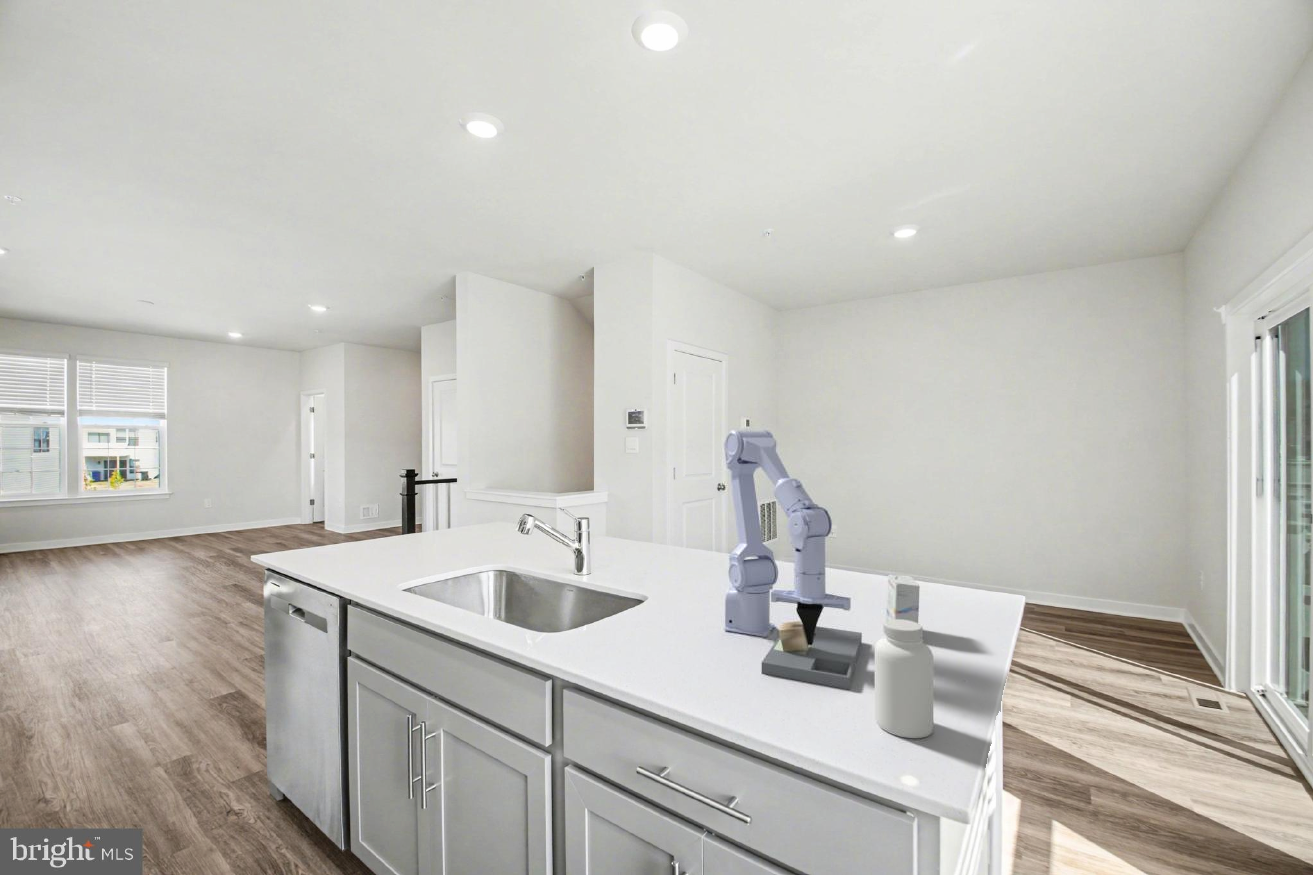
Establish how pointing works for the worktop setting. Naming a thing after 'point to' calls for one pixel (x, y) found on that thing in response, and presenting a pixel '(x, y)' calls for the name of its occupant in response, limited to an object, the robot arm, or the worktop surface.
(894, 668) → the pill bottle
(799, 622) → the block
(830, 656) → the board
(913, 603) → the ink box
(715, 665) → the worktop surface
